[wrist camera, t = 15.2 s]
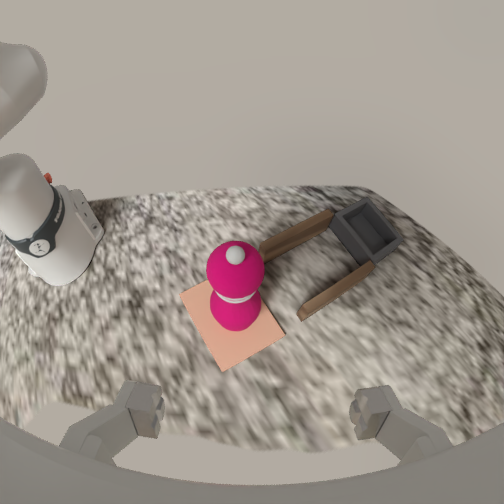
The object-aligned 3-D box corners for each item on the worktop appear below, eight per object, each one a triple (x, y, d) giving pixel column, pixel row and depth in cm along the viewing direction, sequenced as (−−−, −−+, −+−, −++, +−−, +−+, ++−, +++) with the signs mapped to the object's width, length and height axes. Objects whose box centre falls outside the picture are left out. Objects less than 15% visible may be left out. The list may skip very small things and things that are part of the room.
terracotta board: (179, 295, 45) (178, 294, 44) (238, 264, 48) (238, 263, 47) (222, 372, 40) (222, 371, 39) (284, 335, 43) (285, 335, 42)
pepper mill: (226, 343, 41) (218, 302, 24) (204, 303, 44) (183, 237, 26) (267, 320, 43) (290, 264, 26) (244, 282, 46) (250, 206, 28)
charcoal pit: (328, 226, 53) (334, 213, 49) (360, 208, 55) (367, 196, 52) (364, 272, 48) (373, 262, 45) (394, 250, 51) (403, 239, 47)
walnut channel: (257, 257, 49) (260, 243, 44) (321, 224, 53) (328, 208, 48) (301, 321, 44) (308, 313, 39) (363, 279, 48) (375, 267, 43)
